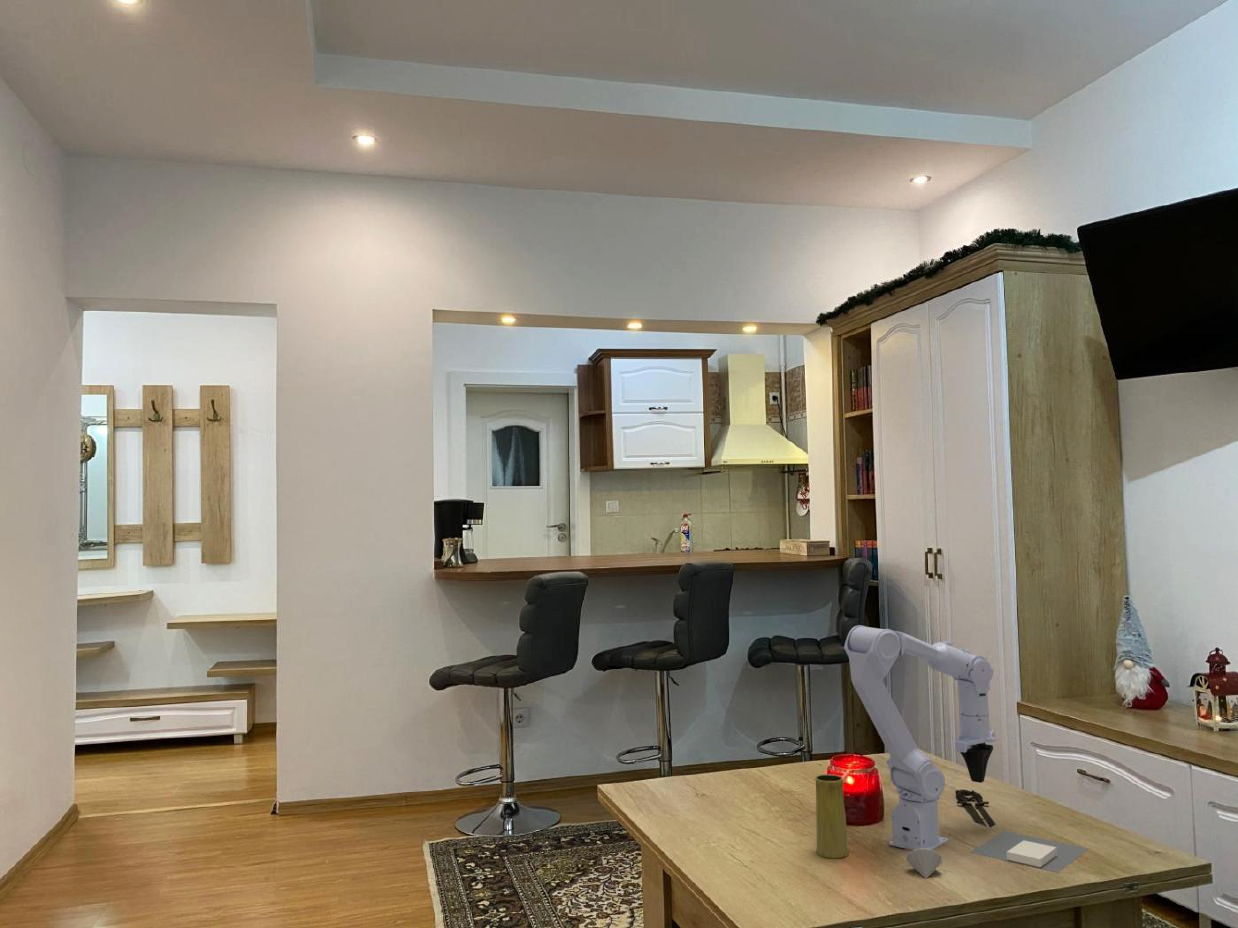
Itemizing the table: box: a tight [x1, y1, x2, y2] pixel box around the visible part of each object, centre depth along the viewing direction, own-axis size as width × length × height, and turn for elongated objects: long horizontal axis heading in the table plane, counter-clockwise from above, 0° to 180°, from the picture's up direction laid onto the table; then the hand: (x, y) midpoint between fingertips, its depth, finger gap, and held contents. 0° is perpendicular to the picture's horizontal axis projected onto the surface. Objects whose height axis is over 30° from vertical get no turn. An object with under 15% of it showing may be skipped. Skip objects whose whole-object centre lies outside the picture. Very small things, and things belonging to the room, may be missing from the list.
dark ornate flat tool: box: [955, 789, 997, 829], centre depth 199 cm, size 26×7×2 cm, turn 165°
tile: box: [1007, 840, 1057, 869], centre depth 169 cm, size 2×6×8 cm
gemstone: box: [906, 848, 943, 880], centre depth 164 cm, size 6×6×5 cm
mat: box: [969, 830, 1089, 874], centre depth 173 cm, size 16×16×1 cm
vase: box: [815, 773, 850, 859], centre depth 176 cm, size 6×6×14 cm
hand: (977, 781), depth 187 cm, fingers closed
